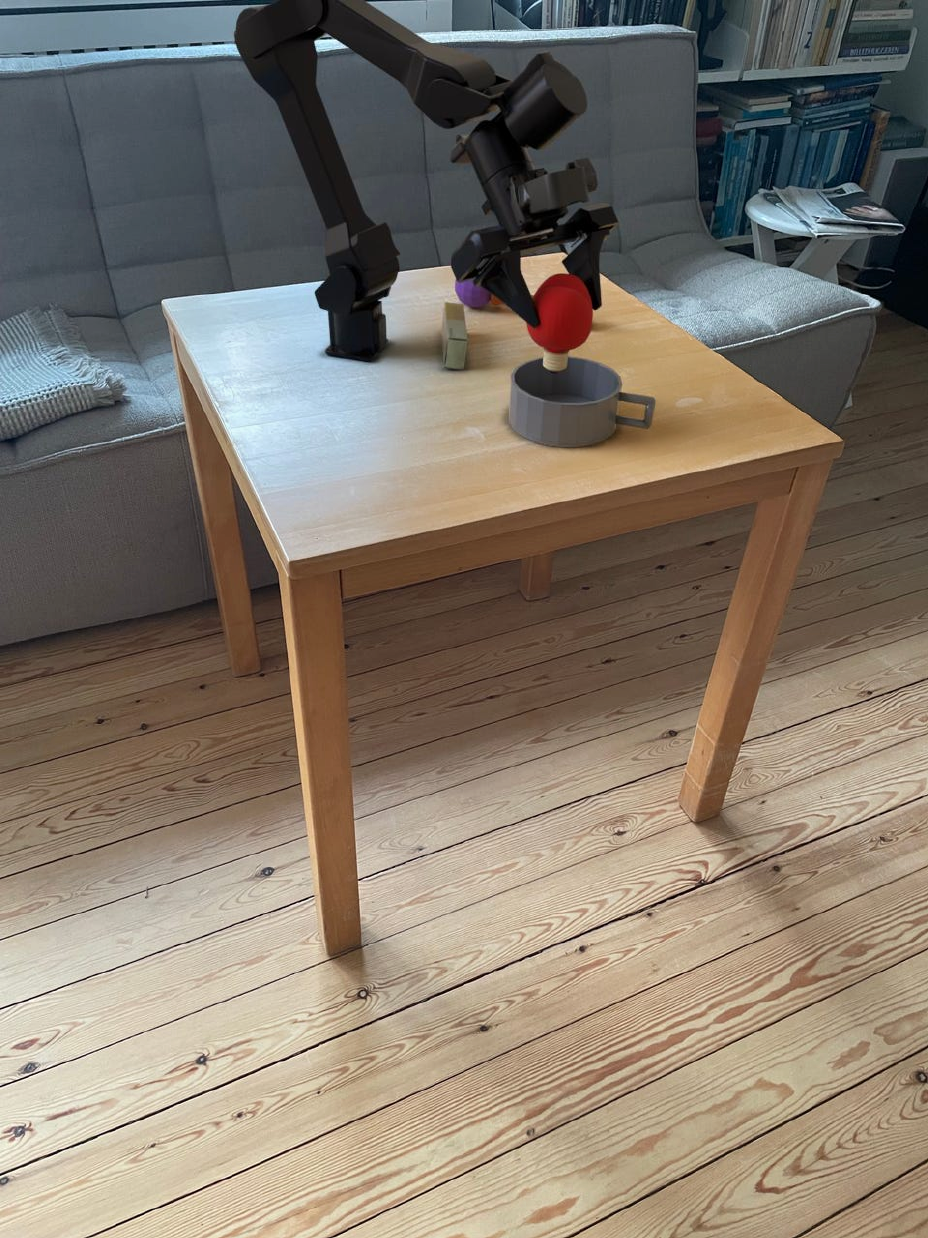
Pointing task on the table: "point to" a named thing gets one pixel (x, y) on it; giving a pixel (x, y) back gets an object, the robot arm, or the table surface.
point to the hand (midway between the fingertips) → (568, 317)
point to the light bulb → (561, 318)
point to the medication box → (454, 336)
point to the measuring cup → (571, 403)
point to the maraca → (475, 295)
